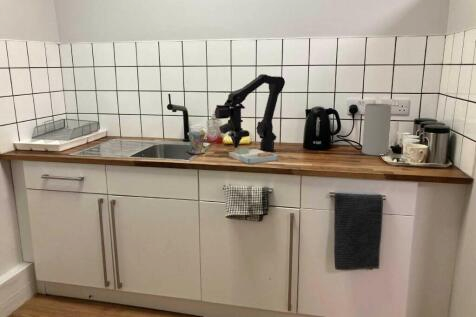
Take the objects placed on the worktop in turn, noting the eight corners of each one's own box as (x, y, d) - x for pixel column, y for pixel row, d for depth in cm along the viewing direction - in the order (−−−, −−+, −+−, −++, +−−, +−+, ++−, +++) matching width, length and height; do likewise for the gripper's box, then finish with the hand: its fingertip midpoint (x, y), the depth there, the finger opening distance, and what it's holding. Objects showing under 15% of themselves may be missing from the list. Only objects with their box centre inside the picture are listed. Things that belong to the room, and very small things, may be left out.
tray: (267, 156, 199) (267, 151, 199) (277, 160, 191) (277, 155, 191) (239, 160, 192) (239, 155, 191) (248, 164, 184) (248, 159, 184)
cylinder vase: (376, 157, 198) (380, 106, 192) (356, 152, 208) (359, 104, 202) (392, 154, 204) (396, 105, 198) (372, 149, 214) (376, 103, 209)
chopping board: (256, 152, 209) (256, 148, 208) (267, 156, 199) (267, 152, 199) (229, 155, 201) (229, 152, 201) (239, 160, 192) (239, 156, 191)
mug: (191, 150, 213) (190, 131, 211) (208, 151, 212) (207, 131, 209) (183, 155, 202) (183, 135, 200) (201, 156, 200) (200, 135, 198)
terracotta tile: (266, 157, 197) (266, 152, 197) (271, 159, 193) (272, 154, 192) (257, 158, 195) (257, 153, 194) (263, 160, 190) (263, 155, 190)
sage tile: (244, 151, 201) (244, 146, 201) (248, 153, 197) (248, 148, 197) (235, 152, 199) (235, 147, 199) (240, 154, 195) (240, 149, 194)
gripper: (213, 116, 205) (213, 146, 208) (229, 121, 189) (229, 153, 192) (232, 115, 210) (232, 144, 213) (250, 119, 194) (249, 151, 197)
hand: (235, 148), depth 204 cm, fingers closed
